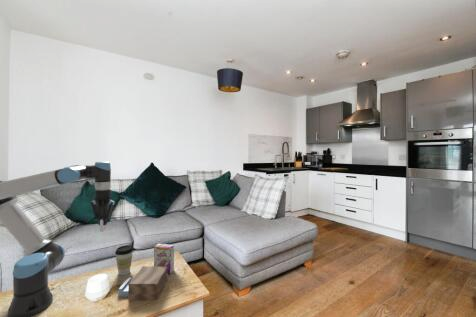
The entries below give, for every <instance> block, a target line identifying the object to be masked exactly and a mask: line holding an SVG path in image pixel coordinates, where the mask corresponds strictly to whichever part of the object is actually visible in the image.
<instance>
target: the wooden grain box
mask: <svg viewBox="0 0 476 317" xmlns="http://www.w3.org/2000/svg"><path fill="white" fill-rule="evenodd" d="M167 282H168V274H167V267H157V266H154V265H153V266H148V265H147V266H146V265H145V266H142V267H141V268H140V269H139V270H138V271H137V273H136V274H135V275H134V276H133V278H131V281H130V283H129V296H128V301H157V300H158V299H159V297H160V295H161V294H162V291H163V290H164V288H165V286H166V284H167Z"/></svg>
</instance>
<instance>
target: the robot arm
mask: <svg viewBox="0 0 476 317" xmlns="http://www.w3.org/2000/svg"><path fill="white" fill-rule="evenodd" d="M111 170H112V169H111V163H110V162H109V161H95V163H94V164H93V165H78V164H77V165H70V166H66V167H65V166H64V167H63V168H59V169H54V170H50V171H45V172H41V173H36V174H33V175H29V176H27V175H26V176H22V177H18V178H15V179H10V180H0V222H1V223H2V225H3V226H4V227H5V228H6V230H7V231H8V232H9V233H10V234H11V235H12V236H13V237H14V239H15V240H16V241H17V242H18V244H19V245H20V246H21V248H23V250H24V251H25V255H24V257H22V258H19V260H17V261H16V262H15V263H14V265H13V270H12V279H13V280H12V282H13V285H12V286H13V287H12V288H13V290H12V291H13V296H12V299H11V301H10V304H9V307H8V309H7V317H32V316H35V315H37V314H39V313H41V312H43V311H44V310H46V309H47V308H49V306H51V305H52V303H53V300H54V298H53V294H52V292H51V290H50V288H49V274H50V273H51V272H52V271H54V270H55V268H57V267H58V266H59V265H60V264H61V263H62V261H63V260H64V259H65V256H66V250H65V247H64V246H63V245H61V244H59V243H55V242H54V241H53V240H52V239H46V237H45V236H44V235H43V233H41V231H40V230H39V229H38V228H37V226H35V224H34V223H33V221H32V220H31V219H30V217H29V216H27V214H26V213H25V211H23V209H22V208H21V206H19V204H18V201H19V198H18V196H20V195H24V194H29V193H32V192H37V191H41V190H45V189H49V188H52V187H57V186H61V185H65V184H72V183H75V182H78V181H82V180H91V179H92V180H94V189H95V190H94V197H95V198H94V200H92V201H90V202H89V204H90V205H91V208H92V213H93V217H94V219H97V220H98V226H99V232H101V233H102V232H104V231H106V228H107V227H106V226H107V224H108V219H109V218H111V217H112V214H113V213H112V212H113V208H114V205H115V204H116V201H115V200H112V198H111V193H112V191H111V190H112V189H111V188H112V185H111V179H112V178H111V174H112V171H111Z"/></svg>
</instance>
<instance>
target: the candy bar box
mask: <svg viewBox="0 0 476 317" xmlns="http://www.w3.org/2000/svg"><path fill="white" fill-rule="evenodd" d="M153 252H154V254H153V257H154V258H153V266H157V267H167V275H171V274H172V273H173V271H175V270H174V269H175V245H174V244H169V243H168V244H166V243H157V244H156V245H154V248H153Z"/></svg>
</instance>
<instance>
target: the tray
mask: <svg viewBox="0 0 476 317" xmlns="http://www.w3.org/2000/svg"><path fill="white" fill-rule="evenodd" d="M131 280H132V277H128V278H126V280H124V282H123V283H122V284H121V285H120V287H119V288H118V291H117V297H129V283H130V281H131Z"/></svg>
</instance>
